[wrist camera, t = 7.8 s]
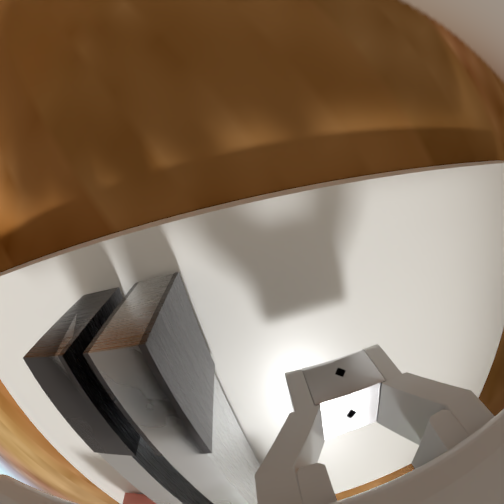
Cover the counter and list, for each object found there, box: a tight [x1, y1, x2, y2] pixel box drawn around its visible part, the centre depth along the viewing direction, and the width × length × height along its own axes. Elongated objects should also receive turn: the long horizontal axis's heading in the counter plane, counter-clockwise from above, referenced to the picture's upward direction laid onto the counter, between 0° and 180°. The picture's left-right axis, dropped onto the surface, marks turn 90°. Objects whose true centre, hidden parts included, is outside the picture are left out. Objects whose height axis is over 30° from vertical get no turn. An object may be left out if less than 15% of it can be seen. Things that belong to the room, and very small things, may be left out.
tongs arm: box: [83, 272, 260, 504], centre depth 8 cm, size 14×2×4 cm, turn 14°
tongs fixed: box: [23, 287, 213, 504], centre depth 9 cm, size 18×5×5 cm, turn 12°
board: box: [0, 160, 504, 504], centre depth 12 cm, size 22×30×2 cm
